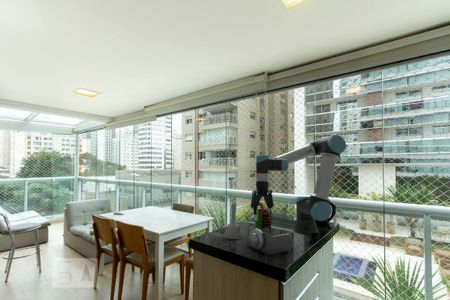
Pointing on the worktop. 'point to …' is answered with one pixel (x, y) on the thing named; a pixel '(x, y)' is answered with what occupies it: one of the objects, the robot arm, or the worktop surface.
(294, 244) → the worktop surface
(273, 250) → the flange bracket
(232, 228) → the engine component
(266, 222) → the motor
